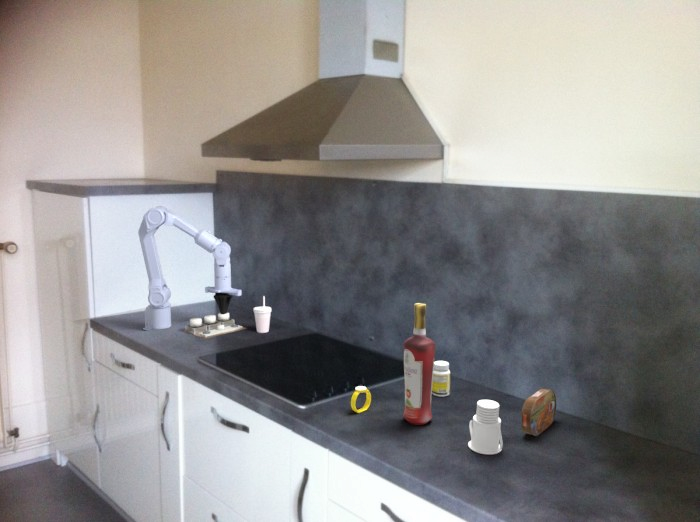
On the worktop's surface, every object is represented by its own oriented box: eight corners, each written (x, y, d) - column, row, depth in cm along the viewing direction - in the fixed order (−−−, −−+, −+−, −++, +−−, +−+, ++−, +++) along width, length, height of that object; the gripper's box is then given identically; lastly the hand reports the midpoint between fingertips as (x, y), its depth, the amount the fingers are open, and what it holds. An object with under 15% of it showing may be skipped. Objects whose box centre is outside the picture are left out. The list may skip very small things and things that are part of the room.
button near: (187, 325, 224) (187, 319, 223) (197, 323, 227) (197, 317, 226) (194, 327, 221) (194, 321, 221) (204, 325, 224) (204, 319, 224)
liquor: (395, 419, 153) (397, 303, 148) (418, 412, 157) (421, 299, 153) (416, 429, 147) (419, 309, 142) (439, 422, 151) (443, 305, 147)
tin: (531, 441, 141) (533, 404, 140) (517, 437, 143) (519, 401, 142) (556, 420, 153) (558, 386, 152) (543, 417, 155) (545, 383, 154)
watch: (357, 416, 155) (356, 393, 154) (348, 413, 157) (347, 390, 156) (373, 408, 159) (372, 385, 158) (365, 405, 161) (364, 383, 160)
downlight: (459, 446, 138) (462, 402, 137) (478, 436, 143) (481, 394, 141) (491, 460, 133) (495, 414, 131) (509, 449, 138) (513, 405, 136)
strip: (198, 334, 220) (198, 328, 220) (235, 326, 232) (235, 320, 232) (205, 336, 217) (205, 330, 217) (242, 328, 229) (242, 322, 229)
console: (181, 335, 225) (181, 325, 225) (222, 325, 239) (222, 316, 238) (205, 342, 216) (205, 332, 215) (247, 332, 229) (247, 322, 229)
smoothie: (270, 337, 222) (270, 298, 220) (252, 337, 223) (251, 297, 220) (273, 333, 229) (272, 294, 227) (255, 332, 229) (254, 294, 227)
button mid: (202, 322, 228) (201, 316, 228) (211, 320, 231) (211, 314, 231) (208, 324, 226) (208, 318, 225) (218, 322, 229) (218, 316, 228)
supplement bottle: (439, 389, 173) (439, 359, 172) (453, 393, 170) (454, 363, 169) (427, 393, 170) (428, 362, 169) (442, 398, 167) (443, 366, 165)
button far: (215, 319, 233) (215, 313, 232) (224, 317, 236) (224, 311, 235) (222, 321, 230) (222, 315, 230) (231, 319, 233) (231, 313, 233)
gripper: (199, 276, 230) (200, 313, 232) (233, 279, 224) (233, 318, 226) (211, 273, 236) (212, 309, 238) (244, 276, 230) (245, 313, 232)
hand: (223, 313), depth 232 cm, fingers closed, pressing on button far
